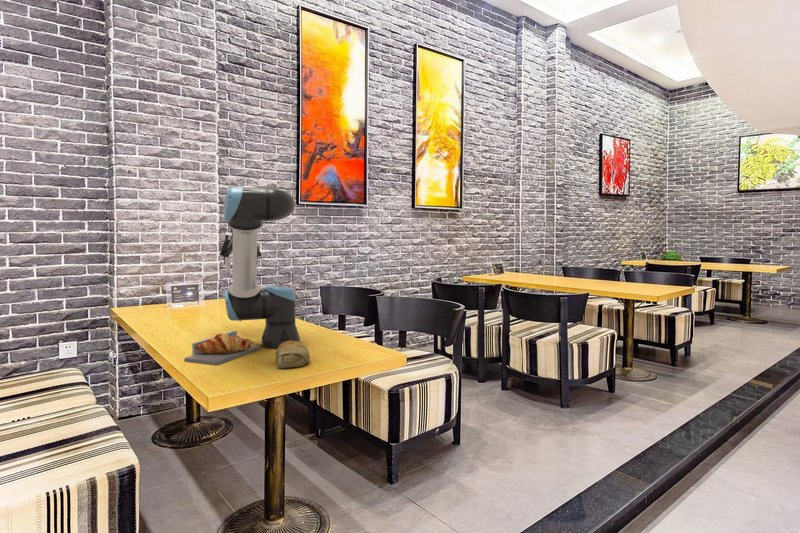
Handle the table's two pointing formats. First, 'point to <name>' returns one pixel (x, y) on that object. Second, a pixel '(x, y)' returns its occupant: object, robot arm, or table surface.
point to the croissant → (224, 344)
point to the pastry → (292, 354)
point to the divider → (233, 333)
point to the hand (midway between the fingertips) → (240, 272)
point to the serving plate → (218, 356)
